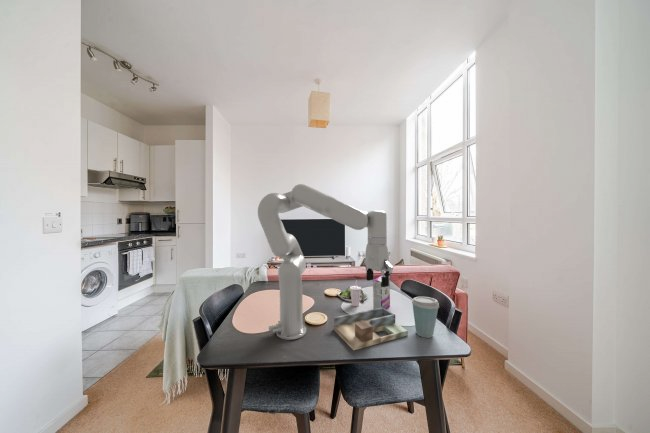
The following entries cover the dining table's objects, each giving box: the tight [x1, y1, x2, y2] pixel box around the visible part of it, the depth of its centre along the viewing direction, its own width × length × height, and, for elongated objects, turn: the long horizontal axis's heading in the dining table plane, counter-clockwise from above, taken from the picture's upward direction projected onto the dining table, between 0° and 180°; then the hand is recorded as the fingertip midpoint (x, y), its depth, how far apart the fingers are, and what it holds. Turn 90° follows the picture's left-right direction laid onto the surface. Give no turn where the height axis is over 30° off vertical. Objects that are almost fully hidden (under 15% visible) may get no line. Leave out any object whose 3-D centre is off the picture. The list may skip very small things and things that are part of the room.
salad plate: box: [337, 286, 369, 303], centre depth 140 cm, size 19×18×5 cm
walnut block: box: [355, 321, 373, 342], centre depth 92 cm, size 5×5×5 cm
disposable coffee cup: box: [411, 296, 440, 339], centre depth 98 cm, size 11×11×15 cm
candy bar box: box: [372, 275, 391, 310], centre depth 124 cm, size 11×5×16 cm, turn 143°
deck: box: [333, 307, 409, 351], centre depth 100 cm, size 26×17×6 cm, turn 114°
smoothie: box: [349, 279, 362, 307], centre depth 129 cm, size 6×6×14 cm
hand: (377, 283), depth 95 cm, fingers open, 9 cm apart
